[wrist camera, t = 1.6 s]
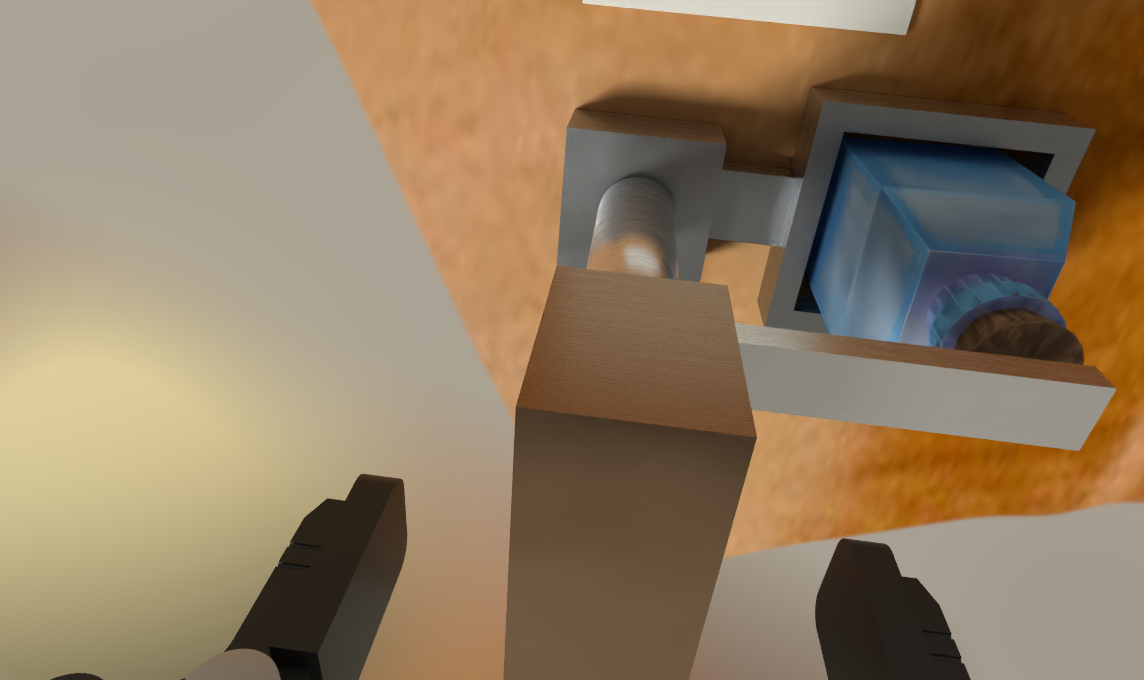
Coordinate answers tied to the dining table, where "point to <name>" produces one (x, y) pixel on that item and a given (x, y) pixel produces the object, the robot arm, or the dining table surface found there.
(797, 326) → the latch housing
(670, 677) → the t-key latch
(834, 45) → the dining table surface
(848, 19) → the pad
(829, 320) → the perfume bottle
